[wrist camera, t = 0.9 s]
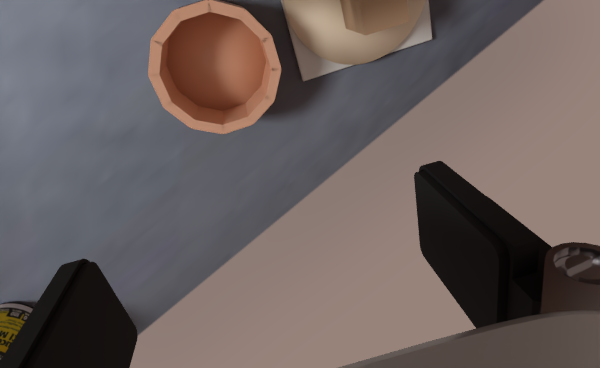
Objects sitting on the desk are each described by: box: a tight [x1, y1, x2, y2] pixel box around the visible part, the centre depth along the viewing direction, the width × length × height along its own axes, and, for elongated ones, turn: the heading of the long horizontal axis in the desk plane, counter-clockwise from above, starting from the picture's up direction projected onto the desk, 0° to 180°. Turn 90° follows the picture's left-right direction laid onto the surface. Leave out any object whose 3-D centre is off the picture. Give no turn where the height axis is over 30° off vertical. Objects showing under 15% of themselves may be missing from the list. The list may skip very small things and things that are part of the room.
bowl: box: [148, 0, 281, 134], centre depth 32 cm, size 10×10×5 cm
